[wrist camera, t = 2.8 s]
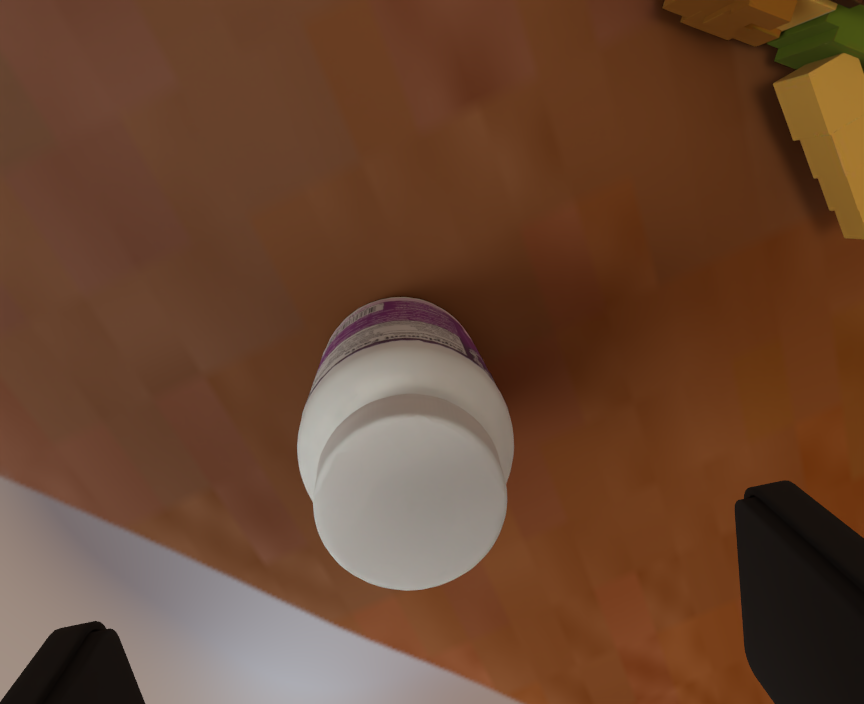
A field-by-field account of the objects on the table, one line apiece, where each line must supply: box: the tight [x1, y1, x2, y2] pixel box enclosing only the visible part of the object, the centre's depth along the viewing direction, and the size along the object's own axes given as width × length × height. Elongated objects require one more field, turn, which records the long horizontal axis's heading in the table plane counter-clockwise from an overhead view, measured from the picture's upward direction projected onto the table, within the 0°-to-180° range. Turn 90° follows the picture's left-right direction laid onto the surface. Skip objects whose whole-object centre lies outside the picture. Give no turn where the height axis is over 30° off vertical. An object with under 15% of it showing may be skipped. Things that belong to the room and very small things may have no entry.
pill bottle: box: [297, 297, 514, 591], centre depth 18 cm, size 5×5×10 cm
